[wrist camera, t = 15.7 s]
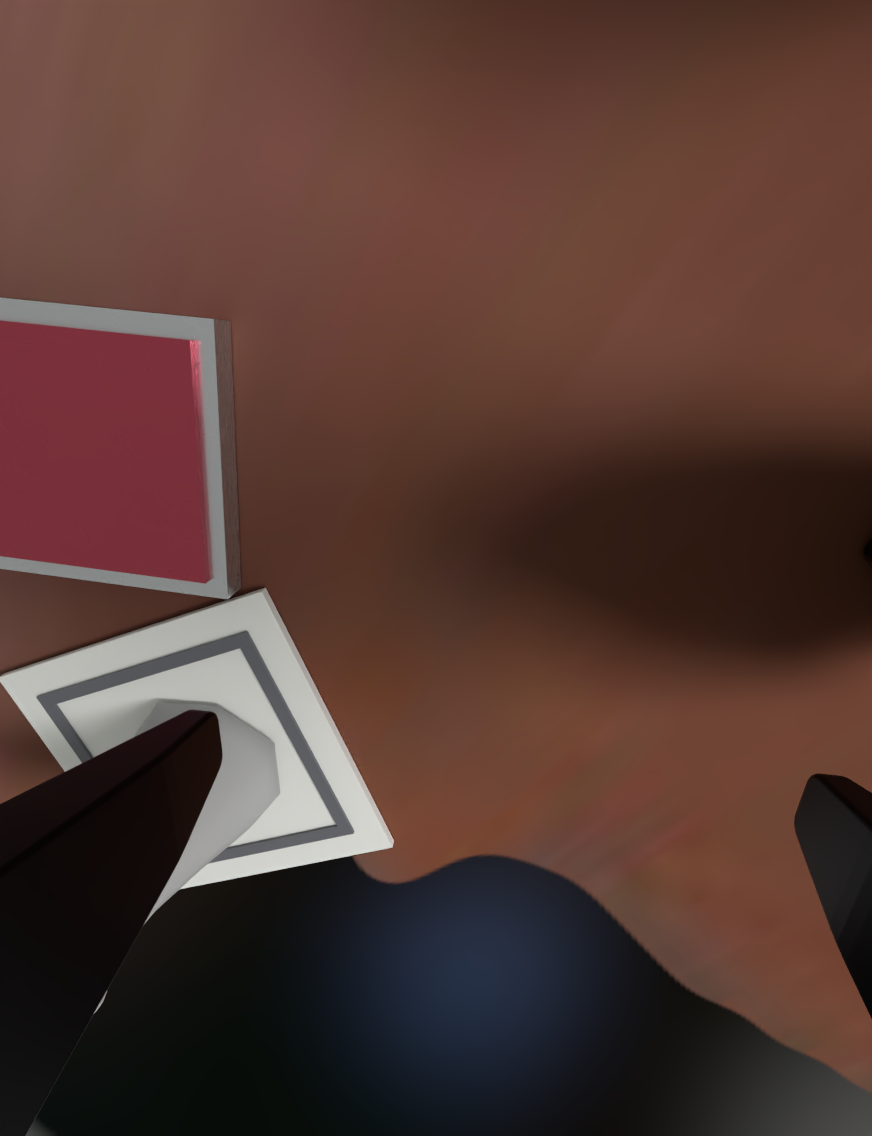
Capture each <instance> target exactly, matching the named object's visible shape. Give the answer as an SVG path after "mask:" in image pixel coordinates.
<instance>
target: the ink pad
mask: <svg viewBox="0 0 872 1136" xmlns="http://www.w3.org/2000/svg"><path fill="white" fill-rule="evenodd" d="M0 569H7V570H14V571H22V572H29V573H36V574H44V575H51V576H59V577H66V578H73V579H81V580H88V581H96V582H103V583H110V584H118V585H125V586H133V587H140V588H147V589H155V590H162V591H170V592H177V593H184V594H192V595H199V596H207V597H214V598H221V599H229V598H230V597H231V596H232V595H233V594H234V593H236V592H237V591H238V590H239V589H240V588H241V566H240V542H239V517H238V492H237V468H236V444H235V419H234V394H233V370H232V346H231V321H226V320H217V319H208V318H198V317H188V316H178V315H168V314H158V313H148V312H138V311H128V310H118V309H108V308H98V307H88V306H78V305H69V304H59V303H49V302H39V301H29V300H19V299H9V298H0Z"/></svg>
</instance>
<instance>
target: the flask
mask: <svg viewBox="0 0 872 1136" xmlns="http://www.w3.org/2000/svg"><path fill="white" fill-rule="evenodd" d="M191 709H195V710H205V711H212V712H214V713H215V714H216V715H217V717H218V720H219V728H220V736H221V744H222V752H223V756H222V763H221V767H220V770H219V772H218V774H217V777H216V779H215V781H214V784H213V786H212V788H211V790H210V793H209V795H208V797H207V800H206V802H205V804H204V807H203V809H202V811H201V813H200V816H199V818H198V820H197V823H196V825H195V827H194V829H193V832H192V834H191V836H190V839H189V841H188V843H187V845H186V848H185V850H184V852H183V854H182V856H181V858H180V860H179V862H178V864H177V866H176V868H175V870H174V871H173V873H172V875H171V877H170V879H169V881H168V882H167V884H166V886H165V888H164V889H163V891H162V893H161V895H160V897H159V898H158V900H157V902H156V904H155V906H154V907H153V909H152V911H151V913H150V914H149V916H148V918H147V920H148V919H149V918H150V917H151V915H152V914H153V913H154V912H155V911H156V910H157V909H158V908H159V907H160V906H161V905H162V904H163V903H165V902H166V901H167V900H168V899H169V898H170V897H171V896H172V895H173V894H175V893H176V892H177V891H178V890H179V889H180V888H181V887H182V886H183V885H185V884H186V883H187V882H188V881H189V880H190V879H191V878H192V877H193V876H194V875H196V874H197V873H198V872H199V871H200V870H201V869H202V868H203V867H205V866H206V865H207V864H208V863H209V862H211V861H212V860H213V859H214V858H215V857H217V856H218V855H219V854H220V853H221V852H223V851H224V850H225V849H226V848H227V847H229V846H230V845H231V844H232V843H233V842H235V841H236V840H237V839H238V838H239V837H240V836H241V835H243V834H244V833H245V832H246V831H247V830H248V829H249V828H250V827H251V826H252V825H253V824H254V823H255V822H256V820H257V819H258V818H259V817H260V816H261V815H262V814H263V813H264V811H265V810H266V809H267V808H268V807H269V806H270V805H271V803H272V802H273V801H274V800H275V799H276V798H277V797H278V796H279V794H280V785H279V777H278V769H277V760H276V752H275V743H274V742H273V741H271V740H270V739H268V738H267V737H265V736H263V735H262V734H260V733H259V732H257V731H256V730H254V729H253V728H251V727H250V726H248V725H247V724H245V723H244V722H242V721H241V720H239V719H238V718H236V717H235V716H233V715H232V714H230V713H229V712H227V711H226V710H224V709H223V708H221V707H220V706H207V705H193V704H180V703H167V702H157V704H156V705H155V707H154V708H153V710H152V711H151V713H150V714H149V716H148V717H147V719H146V720H145V721H144V723H143V724H142V726H141V727H140V729H139V730H138V732H137V733H136V735H135V736H137V735H139V734H141V733H143V732H145V731H147V730H149V729H151V728H153V727H155V726H157V725H159V724H161V723H163V722H165V721H167V720H169V719H171V718H173V717H175V716H177V715H179V714H181V713H183V712H185V711H187V710H191ZM135 736H134V737H135ZM147 920H146V921H147ZM145 923H146V922H145ZM145 923H144V924H145ZM106 993H107V991H106ZM106 993H105V995H106ZM105 995H104V996H103V998H102V1000H101V1002H100V1003H99V1005H98V1007H97V1009H98V1008H99V1007H100V1005H101V1004H102V1002H103V1000H104V998H105ZM97 1009H96V1011H97ZM96 1011H95V1012H96ZM95 1012H94V1013H95Z"/></svg>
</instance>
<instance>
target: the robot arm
mask: <svg viewBox="0 0 872 1136" xmlns="http://www.w3.org/2000/svg"><path fill="white" fill-rule="evenodd" d="M864 556H865V559H866V560H867V562H868V563H869V564H870V566H871V567H872V540H871V541H870V542H869V543H868V544H867V545H866V547H865V549H864ZM222 756H223V752H222V744H221V736H220V728H219V720H218V717H217V715H216V714H215V713H214V712H212V711H205V710H195V709H191V710H187V711H185V712H183V713H181V714H179V715H177V716H175V717H173V718H171V719H169V720H167V721H165V722H163V723H161V724H159V725H157V726H155V727H153V728H151V729H149V730H147V731H145V732H143V733H141V734H139V735H137V736H135V737H133V738H131V739H129V740H127V741H125V742H123V743H121V744H119V745H117V746H115V747H113V748H111V749H109V750H107V751H105V752H103V753H101V754H99V755H97V756H95V757H93V758H91V759H89V760H87V761H85V762H83V763H81V764H79V765H77V766H75V767H73V768H71V769H69V770H67V771H65V772H63V773H61V774H59V775H57V776H55V777H53V778H52V779H50V780H48V781H46V782H44V783H42V784H40V785H38V786H36V787H34V788H32V789H30V790H28V791H26V792H24V793H22V794H20V795H18V796H16V797H14V798H12V799H10V800H8V801H6V802H4V803H2V804H0V1136H25V1135H26V1133H27V1132H28V1130H29V1128H30V1126H31V1125H32V1123H33V1121H34V1119H35V1117H36V1116H37V1114H38V1112H39V1110H40V1108H41V1107H42V1105H43V1103H44V1101H45V1100H46V1098H47V1096H48V1094H49V1092H50V1091H51V1089H52V1087H53V1085H54V1083H55V1082H56V1080H57V1078H58V1076H59V1075H60V1073H61V1071H62V1069H63V1067H64V1066H65V1064H66V1062H67V1060H68V1059H69V1057H70V1055H71V1053H72V1051H73V1050H74V1048H75V1046H76V1044H77V1043H78V1041H79V1039H80V1037H81V1035H82V1034H83V1032H84V1030H85V1028H86V1027H87V1025H88V1023H89V1021H90V1019H91V1017H92V1016H93V1014H94V1012H95V1011H96V1009H97V1007H98V1005H99V1003H100V1002H101V1000H102V998H103V996H104V995H105V993H106V991H107V989H108V987H109V985H110V984H111V982H112V980H113V979H114V977H115V975H116V973H117V971H118V970H119V968H120V966H121V964H122V962H123V961H124V959H125V957H126V955H127V953H128V952H129V950H130V948H131V946H132V944H133V943H134V941H135V939H136V938H137V936H138V934H139V932H140V930H141V929H142V927H143V925H144V923H145V922H146V920H147V918H148V916H149V914H150V913H151V911H152V909H153V907H154V906H155V904H156V902H157V900H158V898H159V897H160V895H161V893H162V891H163V889H164V888H165V886H166V884H167V882H168V881H169V879H170V877H171V875H172V873H173V871H174V870H175V868H176V866H177V864H178V862H179V860H180V858H181V856H182V854H183V852H184V850H185V848H186V845H187V843H188V841H189V839H190V836H191V834H192V832H193V829H194V827H195V825H196V823H197V820H198V818H199V816H200V813H201V811H202V809H203V807H204V804H205V802H206V800H207V797H208V795H209V793H210V790H211V788H212V786H213V784H214V781H215V779H216V777H217V774H218V772H219V770H220V767H221V763H222ZM794 825H795V832H796V835H797V838H798V841H799V843H800V846H801V849H802V852H803V854H804V857H805V860H806V863H807V865H808V868H809V871H810V874H811V877H812V879H813V882H814V885H815V888H816V890H817V893H818V896H819V899H820V901H821V904H822V907H823V910H824V912H825V915H826V918H827V921H828V923H829V926H830V928H831V931H832V933H833V936H834V939H835V941H836V943H837V946H838V948H839V950H840V952H841V955H842V957H843V959H844V961H845V964H846V966H847V968H848V970H849V972H850V974H851V976H852V978H853V980H854V983H855V985H856V987H857V989H858V991H859V993H860V995H861V997H862V999H863V1002H864V1004H865V1006H866V1008H867V1010H868V1012H869V1014H870V1016H871V1019H872V793H871V792H869V791H867V790H866V789H864V788H863V787H861V786H860V785H858V784H856V783H855V782H853V781H852V780H850V779H848V778H846V777H843V776H838V775H828V774H814V775H812V776H811V777H810V778H809V779H808V781H807V784H806V786H805V789H804V792H803V795H802V797H801V800H800V803H799V806H798V808H797V811H796V814H795V820H794Z"/></svg>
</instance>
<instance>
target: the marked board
mask: <svg viewBox="0 0 872 1136" xmlns="http://www.w3.org/2000/svg"><path fill="white" fill-rule="evenodd" d="M0 682H1V683H2V685H3V686H4V688H5V689H6V690H7V692H8V693H9V695H10V696H11V697H12V699H13V700H14V701H15V703H16V704H17V706H18V707H19V708H20V710H21V711H22V713H23V714H24V715H25V717H26V718H27V720H28V721H29V722H30V724H31V725H32V727H33V728H34V729H35V731H36V732H37V734H38V735H39V736H40V738H41V739H42V741H43V742H44V743H45V745H46V746H47V748H48V749H49V750H50V752H51V753H52V755H53V756H54V757H55V759H56V760H57V761H58V763H59V764H60V766H61V767H62V768H63V770H64V771H67V770H69V769H71V768H73V767H75V766H77V765H79V764H81V763H83V762H85V761H87V760H89V759H91V758H93V757H95V756H97V755H99V754H101V753H103V752H105V751H107V750H109V749H111V748H113V747H115V746H117V745H119V744H121V743H123V742H125V741H127V740H129V739H131V738H133V737H134V736H135V735H136V733H137V732H138V730H139V729H140V727H141V726H142V724H143V723H144V721H145V720H146V719H147V717H148V716H149V714H150V713H151V711H152V710H153V708H154V707H155V705H156V704H157V702H167V703H180V704H193V705H207V706H220V707H221V708H223V709H224V710H226V711H227V712H229V713H230V714H232V715H233V716H235V717H236V718H238V719H239V720H241V721H242V722H244V723H245V724H247V725H248V726H250V727H251V728H253V729H254V730H256V731H257V732H259V733H260V734H262V735H263V736H265V737H267V738H268V739H270V740H271V741H273V742H274V743H275V752H276V760H277V769H278V777H279V785H280V794H279V796H278V797H277V798H276V799H275V800H274V801H273V802H272V803H271V805H270V806H269V807H268V808H267V809H266V810H265V811H264V813H263V814H262V815H261V816H260V817H259V818H258V819H257V820H256V822H255V823H254V824H253V825H252V826H251V827H250V828H249V829H248V830H247V831H246V832H245V833H244V834H243V835H241V836H240V837H239V838H238V839H237V840H236V841H235V842H233V843H232V844H231V845H230V846H229V847H227V848H226V849H225V850H224V851H223V852H221V853H220V854H219V855H218V856H217V857H215V858H214V859H213V860H212V861H211V862H209V863H208V864H207V865H206V866H205V867H203V868H202V869H201V870H200V871H199V872H198V873H197V874H196V875H194V876H193V877H192V878H191V879H190V880H189V881H188V882H187V883H186V884H185V885H183V886H182V887H181V888H180V889H183V888H188V887H193V886H198V885H203V884H208V883H213V882H219V881H224V880H229V879H234V878H239V877H244V876H249V875H254V874H259V873H264V872H270V871H275V870H280V869H284V868H290V867H295V866H300V865H305V864H310V863H316V862H320V861H326V860H331V859H336V858H341V857H346V856H351V855H356V854H362V853H367V852H372V851H377V850H382V849H387V848H392V847H393V843H394V840H393V838H392V836H391V834H390V832H389V830H388V828H387V826H386V824H385V822H384V820H383V818H382V816H381V814H380V812H379V810H378V808H377V806H376V804H375V802H374V800H373V798H372V796H371V794H370V792H369V790H368V788H367V786H366V785H365V783H364V781H363V779H362V777H361V775H360V773H359V771H358V769H357V767H356V765H355V763H354V761H353V759H352V757H351V755H350V753H349V751H348V749H347V747H346V745H345V743H344V741H343V739H342V737H341V735H340V733H339V731H338V729H337V727H336V725H335V723H334V721H333V719H332V718H331V716H330V714H329V712H328V710H327V708H326V706H325V704H324V702H323V700H322V698H321V696H320V694H319V692H318V690H317V688H316V686H315V684H314V682H313V680H312V678H311V676H310V674H309V672H308V670H307V668H306V666H305V664H304V662H303V660H302V658H301V656H300V654H299V652H298V651H297V649H296V647H295V645H294V643H293V641H292V639H291V637H290V635H289V633H288V631H287V629H286V627H285V625H284V623H283V621H282V619H281V617H280V615H279V613H278V611H277V609H276V607H275V605H274V603H273V601H272V599H271V597H270V595H269V593H268V591H267V589H266V588H262V589H259V590H256V591H253V592H250V593H247V594H244V595H241V596H238V597H235V598H232V599H229V600H226V601H223V602H220V603H217V604H214V605H211V606H208V607H205V608H202V609H199V610H195V611H192V612H189V613H186V614H183V615H180V616H177V617H174V618H171V619H168V620H165V621H162V622H159V623H156V624H153V625H150V626H147V627H144V628H141V629H138V630H135V631H132V632H128V633H125V634H122V635H119V636H116V637H113V638H110V639H107V640H104V641H101V642H98V643H95V644H92V645H89V646H86V647H83V648H80V649H77V650H74V651H71V652H68V653H65V654H61V655H58V656H55V657H52V658H49V659H46V660H43V661H40V662H37V663H34V664H31V665H28V666H25V667H22V668H19V669H16V670H13V671H10V672H7V673H4V674H3V675H1V676H0Z"/></svg>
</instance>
